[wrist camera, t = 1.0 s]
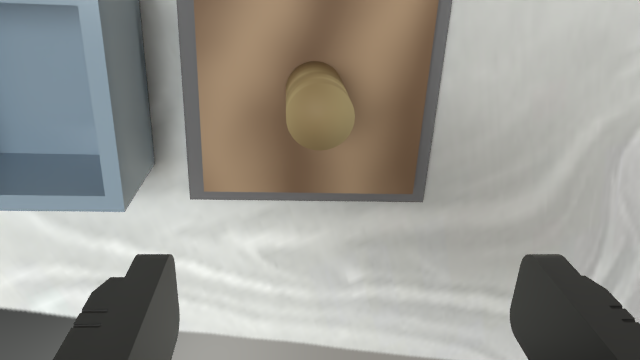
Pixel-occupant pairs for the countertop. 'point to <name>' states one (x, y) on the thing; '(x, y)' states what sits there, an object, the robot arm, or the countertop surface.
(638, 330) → the robot arm
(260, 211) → the countertop surface
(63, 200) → the tub
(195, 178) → the mat
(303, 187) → the lid
